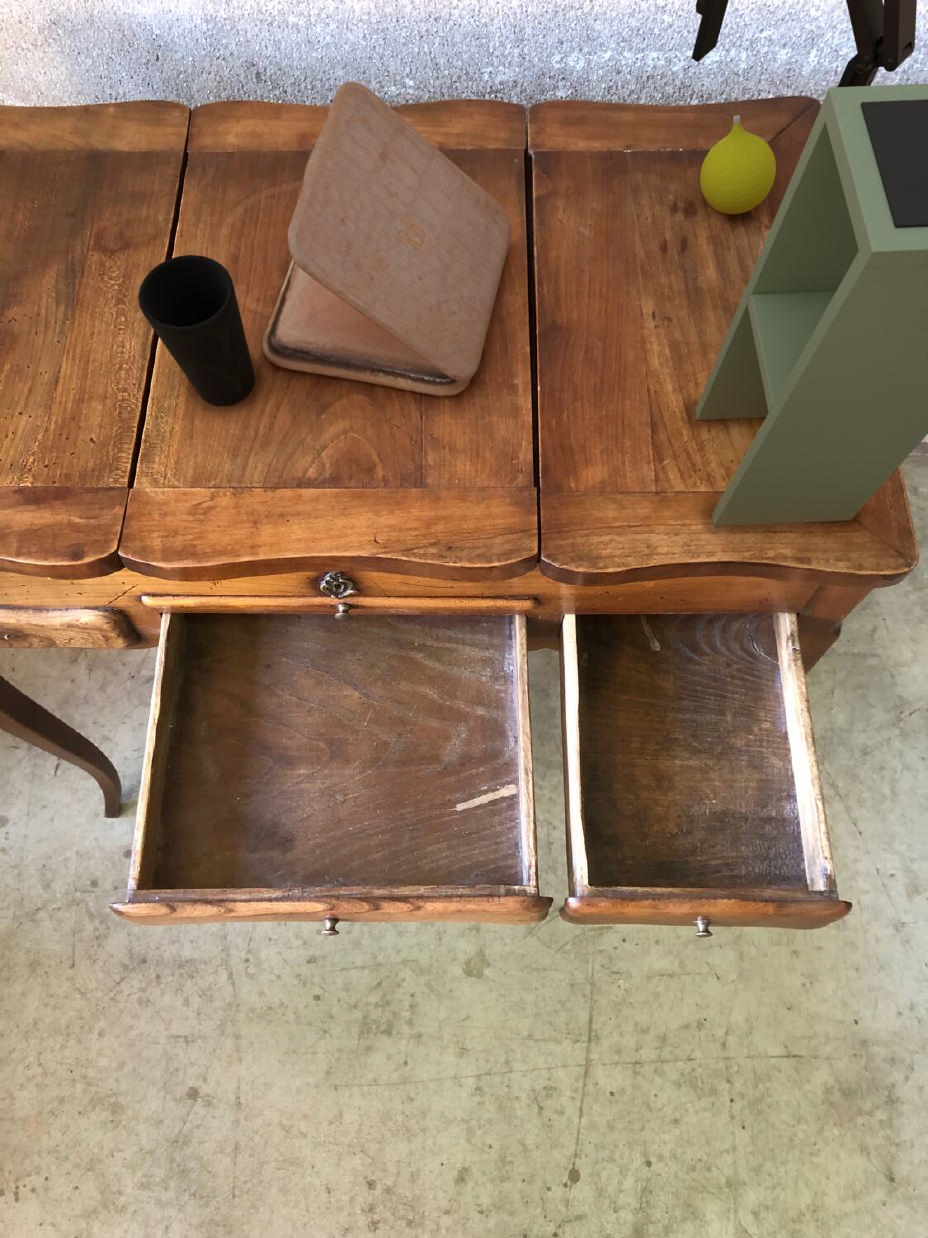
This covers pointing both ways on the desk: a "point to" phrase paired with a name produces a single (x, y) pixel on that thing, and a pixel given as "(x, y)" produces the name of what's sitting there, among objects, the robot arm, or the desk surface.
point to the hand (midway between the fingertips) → (765, 89)
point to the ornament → (737, 171)
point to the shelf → (834, 319)
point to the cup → (200, 326)
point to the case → (387, 257)
